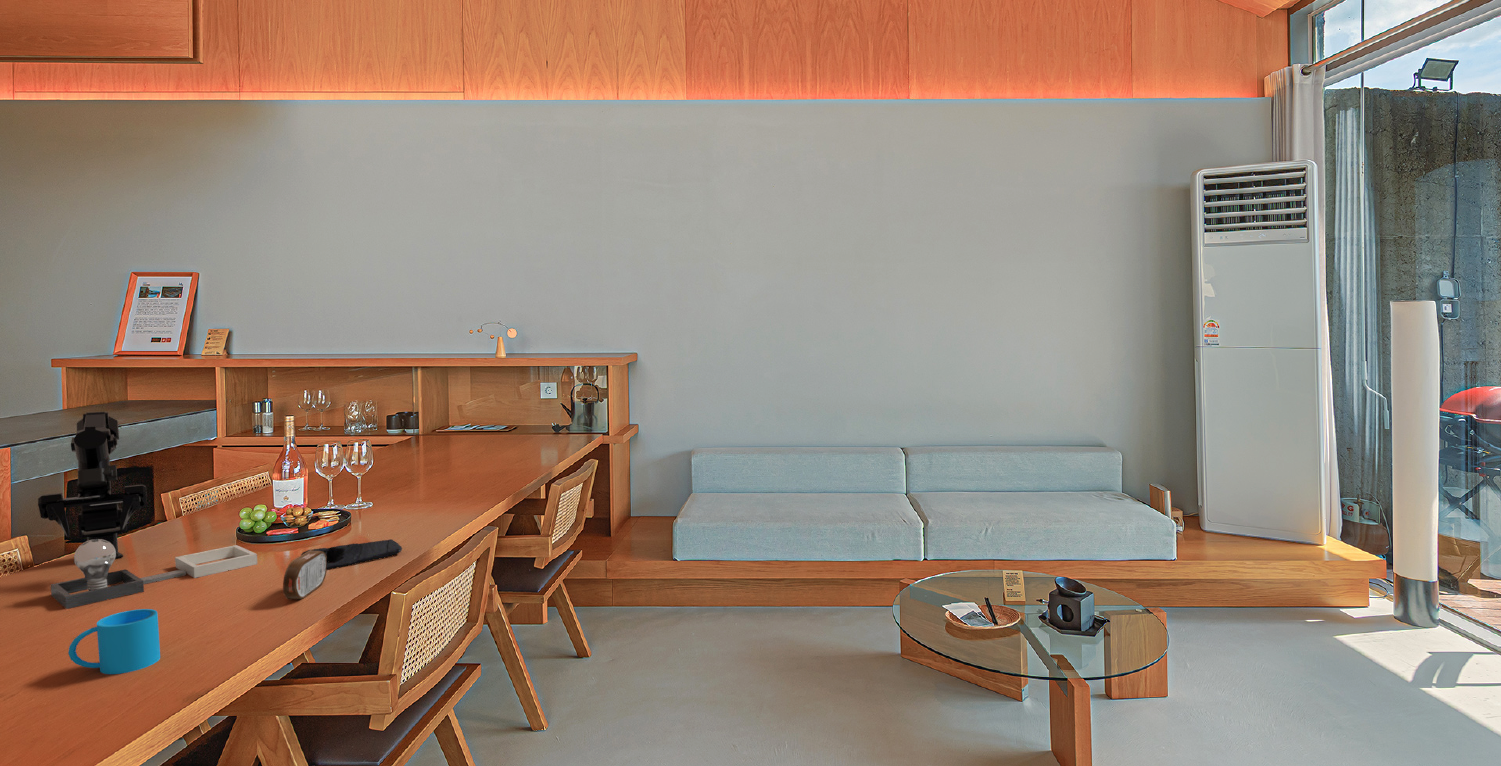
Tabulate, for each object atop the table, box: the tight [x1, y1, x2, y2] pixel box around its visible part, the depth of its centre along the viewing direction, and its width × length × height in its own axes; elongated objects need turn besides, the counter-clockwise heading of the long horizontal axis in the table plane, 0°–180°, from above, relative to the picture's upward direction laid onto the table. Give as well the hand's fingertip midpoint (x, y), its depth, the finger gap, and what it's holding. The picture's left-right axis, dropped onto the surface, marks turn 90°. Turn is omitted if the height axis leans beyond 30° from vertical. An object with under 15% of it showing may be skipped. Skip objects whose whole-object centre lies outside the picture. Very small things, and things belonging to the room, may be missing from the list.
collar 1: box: [50, 568, 145, 610], centre depth 169 cm, size 13×13×2 cm
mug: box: [68, 608, 161, 675], centre depth 133 cm, size 12×8×8 cm
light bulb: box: [73, 539, 116, 591], centre depth 169 cm, size 7×7×12 cm
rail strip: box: [139, 569, 187, 585], centre depth 179 cm, size 3×9×1 cm, turn 142°
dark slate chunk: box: [300, 539, 403, 570], centre depth 195 cm, size 15×22×5 cm
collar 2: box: [174, 544, 258, 579], centre depth 189 cm, size 13×13×2 cm
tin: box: [282, 549, 328, 600], centre depth 169 cm, size 15×3×8 cm, turn 5°
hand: (95, 532), depth 174 cm, fingers open, 9 cm apart
